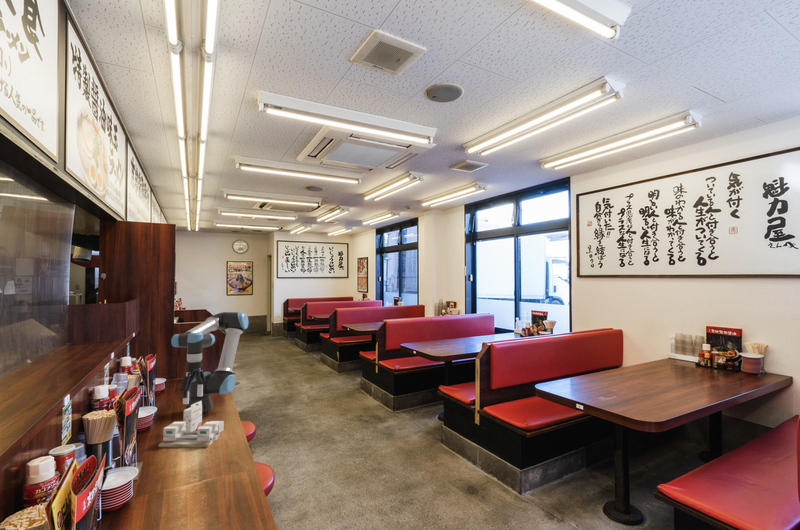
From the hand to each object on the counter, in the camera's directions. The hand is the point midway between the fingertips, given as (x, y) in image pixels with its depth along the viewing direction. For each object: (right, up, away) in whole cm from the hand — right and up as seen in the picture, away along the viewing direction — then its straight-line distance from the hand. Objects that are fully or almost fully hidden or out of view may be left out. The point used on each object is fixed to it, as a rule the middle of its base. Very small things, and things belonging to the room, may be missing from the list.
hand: (193, 400), depth 202 cm
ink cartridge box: (0, -16, 0) cm, 16 cm away
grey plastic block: (+14, -16, -4) cm, 22 cm away
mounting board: (+8, -15, -15) cm, 23 cm away
